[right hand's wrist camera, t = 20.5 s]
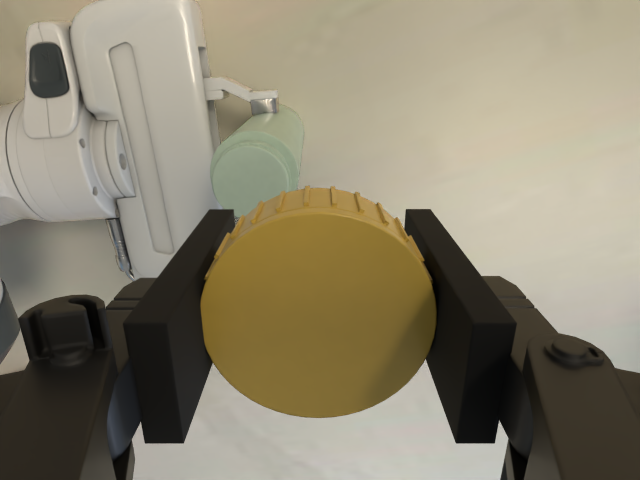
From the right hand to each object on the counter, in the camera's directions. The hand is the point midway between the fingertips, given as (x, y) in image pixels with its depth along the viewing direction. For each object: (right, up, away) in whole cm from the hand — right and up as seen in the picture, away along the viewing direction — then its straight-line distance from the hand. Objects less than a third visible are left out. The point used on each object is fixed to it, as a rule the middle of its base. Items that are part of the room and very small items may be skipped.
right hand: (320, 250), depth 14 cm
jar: (-4, +9, +24) cm, 26 cm away
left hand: (-3, +7, +18) cm, 19 cm away
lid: (0, -2, -4) cm, 4 cm away
